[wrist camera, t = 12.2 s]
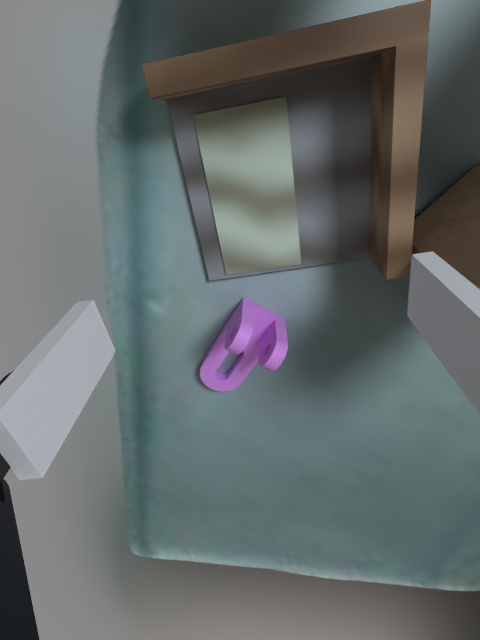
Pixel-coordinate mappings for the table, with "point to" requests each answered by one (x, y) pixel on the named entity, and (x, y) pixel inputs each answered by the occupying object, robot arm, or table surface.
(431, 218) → the wooden block
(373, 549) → the table surface
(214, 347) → the bracket
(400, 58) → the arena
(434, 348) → the robot arm
